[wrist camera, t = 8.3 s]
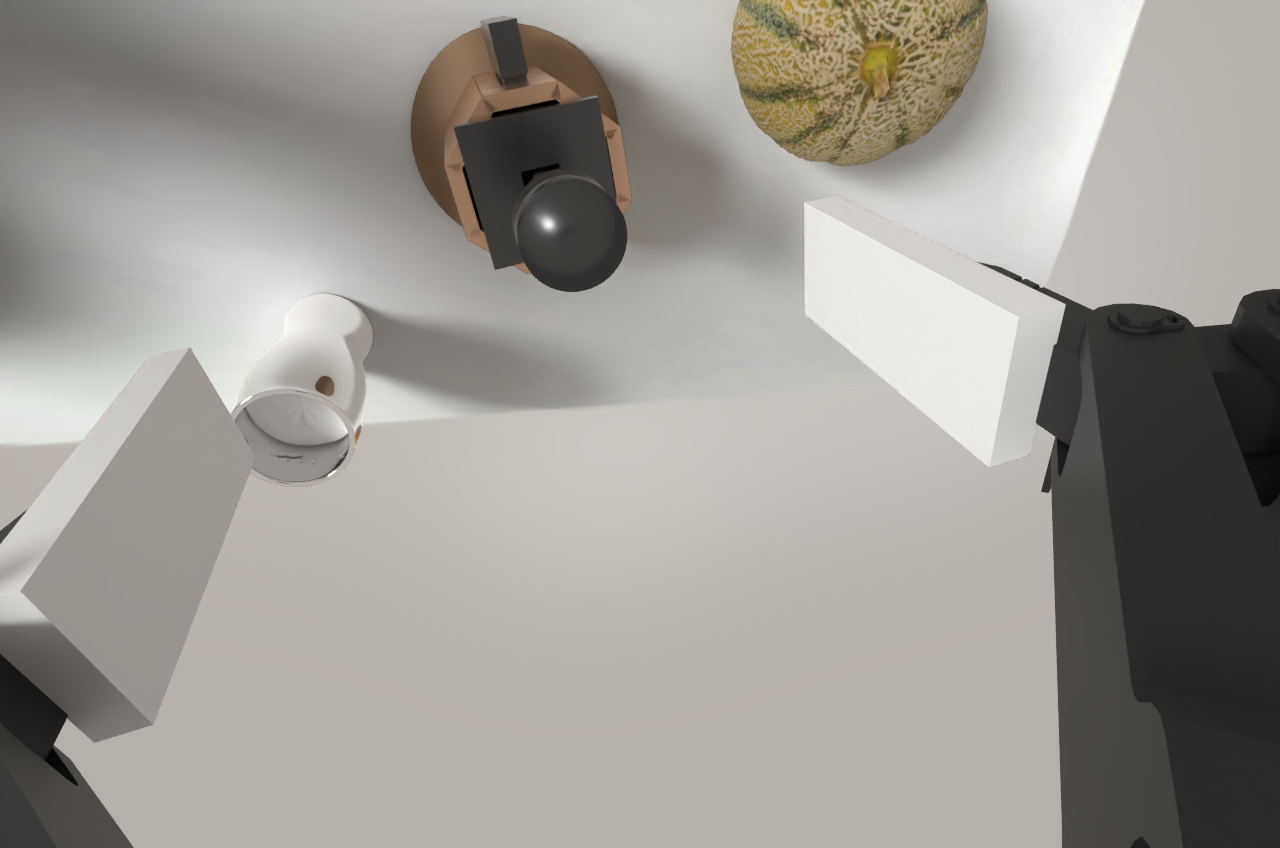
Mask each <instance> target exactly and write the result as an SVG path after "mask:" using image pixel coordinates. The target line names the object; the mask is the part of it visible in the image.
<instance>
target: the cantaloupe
mask: <svg viewBox="0 0 1280 848" xmlns="http://www.w3.org/2000/svg"><path fill="white" fill-rule="evenodd" d="M987 13H988V11H987V3H986V0H740V2H739V5H738V8H737V11H736V15H735V19H734V23H733V32H732V43H731V51H732V58H733V65H734V70H735V74H736V77H737V79H738V82H739V87H740V93H741V97H742V99H743V100H744V104H745V106H746V108H747V109H748V112H749V114H750V115H751V117H752V118H753V120H754V122H755V123H756V125H757V126H758V127H759V128H760V129H761V130H762V131H763V132H764V133H765V134H767V135H768V136H770V137H771V138H772V139H773V140H774V141H775V142H776V143H777V144H778V145H779V146H780V147H782V148H784V149H785V150H787V151H788V152H789V153H793V154H794V155H796V156H797V157H799V158H803V159H805V160H809V161H827V162H829V163H831V164H834V165H839V166H847V165H848V166H849V165H858V164H864V163H867V162H870V161H873V160H876V159H879V158H882V157H884V156H886V155H887V154H889V153H891V152H893V151H894V150H896V149H898V148H900V147H902V146H904V145H906V144H910V143H913V142H914V141H916V140H917V139H918V138H920V137H921V136H923V135H925V134H927V133H928V132H929V131H930V130H931V129H932V128H933V127H934V126H935V125H936V124H937V123H938V122H939V121H940V120H941V119H942V118H943V117H944V115H945V114H946V113H947V112H948V111H949V109H950V108H951V107H952V106H953V104H954V102H955V101H956V100H957V99H958V98H959V97H960V96H961V94H962V91H963V87H964V85H965V84H966V83H967V81H968V80H969V79H970V77H971V76H972V75H973V72H974V70H975V68H976V65H977V63H978V60H979V59H980V54H981V51H982V48H983V43H984V38H985V33H986V23H987Z"/></svg>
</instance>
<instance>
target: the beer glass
mask: <svg viewBox="0 0 1280 848" xmlns="http://www.w3.org/2000/svg"><path fill="white" fill-rule="evenodd" d="M372 342H373V331H372V327H371V324H370V322H369V320H368V318H367V316H366V315H365V313H364V312H363V311H362V310H361V309H360V308H359V307H358V306H357V305H355V304H354V303H352V302H351V301H349V300H347V299H345V298H343V297H340V296H336V295H332V294H314V295H310V296H307V297H304V298H302V299H300V300H299V301H297V302H296V303H294V304H293V305H292V306H291V307H290V308H289V310H288V311H287V313H286V315H285V318H284V321H283V326H282V336H281V337H280V338H279V339H278V340H277V341H276V342H274V343H273V344H272V345H271V346H270V347H269V348H267V349H266V350H265V351H264V352H263V353H262V354H261V356H260V357H259V358H258V359H257V360H256V361H255V362H254V363H253V365H252V366H251V368H250V369H249V371H248V373H247V374H246V376H245V377H244V379H243V381H242V384H241V386H240V388H239V390H238V393H237V395H236V398H235V401H234V404H233V407H232V411H231V414H230V415H231V417H232V418H233V420H234V422H235V423H236V425H237V427H238V428H239V430H240V432H241V433H242V435H243V437H244V438H245V440H246V442H247V443H248V445H249V447H250V448H251V450H252V452H253V453H254V455H255V457H256V458H255V460H254V463H253V466H252V468H251V471H250V474H251V475H253V476H255V477H256V478H258V479H260V480H263V481H265V482H268V483H271V484H274V485H279V486H285V487H308V486H313V485H317V484H320V483H323V482H326V481H328V480H330V479H332V478H334V477H335V476H337V475H338V474H339V473H341V472H342V471H343V470H344V469H345V468H346V467H347V465H348V464H349V462H350V461H351V459H352V457H353V454H354V450H355V446H356V444H357V441H358V438H359V435H360V432H361V429H362V426H363V422H364V418H365V414H366V406H367V384H366V377H365V372H364V367H363V360H364V359H365V358H366V356H367V355H368V353H369V351H370V349H371V346H372Z"/></svg>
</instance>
